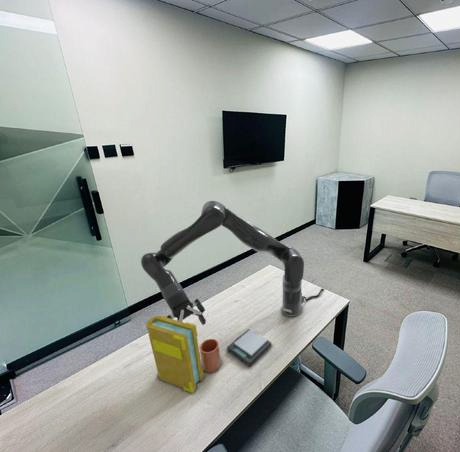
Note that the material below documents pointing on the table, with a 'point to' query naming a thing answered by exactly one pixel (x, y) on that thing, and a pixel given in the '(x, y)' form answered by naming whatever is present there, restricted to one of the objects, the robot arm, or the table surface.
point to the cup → (210, 355)
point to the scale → (249, 347)
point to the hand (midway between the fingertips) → (195, 330)
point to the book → (175, 351)
